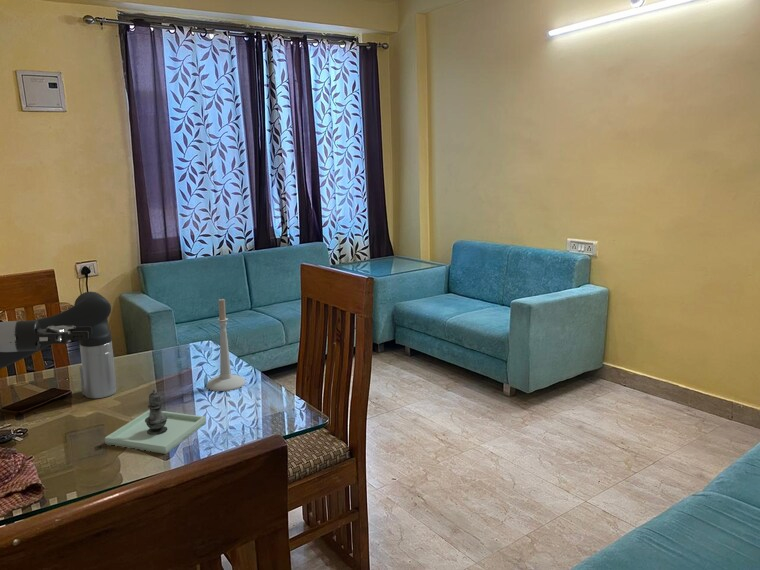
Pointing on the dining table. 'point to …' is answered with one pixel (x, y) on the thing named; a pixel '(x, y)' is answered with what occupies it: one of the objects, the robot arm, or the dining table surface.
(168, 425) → the tray
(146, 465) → the dining table surface
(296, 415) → the dining table surface
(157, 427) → the dark grey chess piece
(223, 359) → the candlestick
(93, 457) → the dining table surface
